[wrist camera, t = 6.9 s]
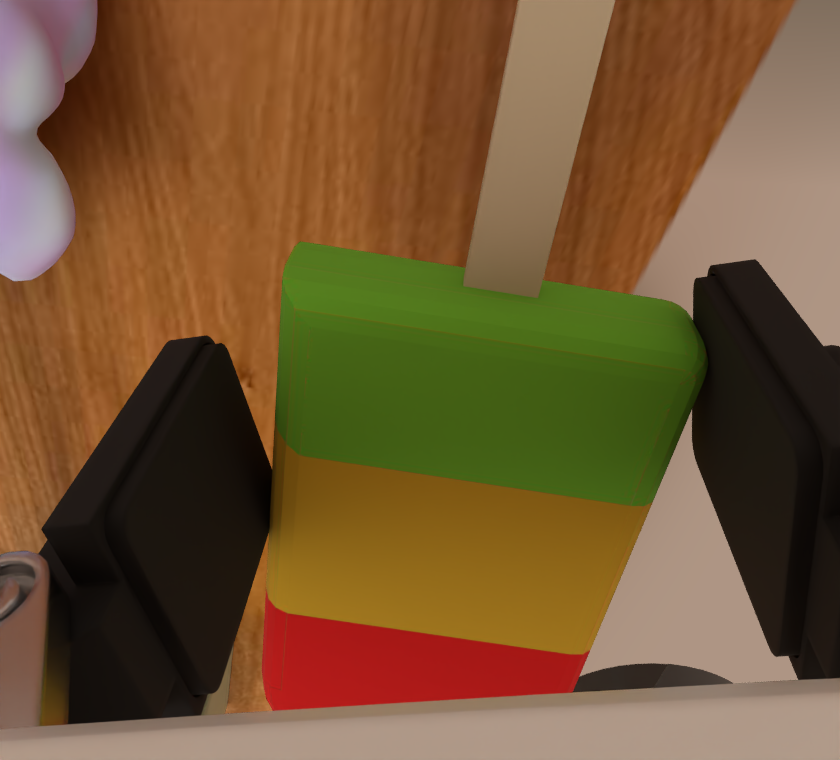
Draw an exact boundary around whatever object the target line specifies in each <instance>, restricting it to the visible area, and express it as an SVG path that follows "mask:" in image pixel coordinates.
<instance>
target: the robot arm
mask: <svg viewBox="0 0 840 760" xmlns="http://www.w3.org/2000/svg"><path fill="white" fill-rule="evenodd" d="M693 322H694V324H695V326H696V328H697V330H698V332H699V334H700V336H701V338H702V340H703V343H704V346H705V349H706V353H707V357H708V368H707V372H706V376H705V378H704V381H703V384H702V386H701V389H700V391H699V393H698V396H697V398H696V400H695V403H694V405H693V407H692V443H693V450H694V455H695V459H696V462H697V465H698V468H699V470H700V473H701V475H702V478H703V480H704V483H705V485H706V488H707V490H708V493H709V496H710V498H711V501H712V503H713V506H714V508H715V511H716V513H717V516H718V518H719V521H720V523H721V526H722V529H723V531H724V534H725V536H726V539H727V541H728V544H729V546H730V549H731V552H732V554H733V557H734V559H735V562H736V564H737V567H738V569H739V572H740V575H741V577H742V580H743V582H744V585H745V587H746V590H747V592H748V595H749V598H750V600H751V603H752V605H753V608H754V610H755V613H756V615H757V618H758V620H759V623H760V626H761V628H762V631H763V633H764V636H765V638H766V641H767V643H768V646H769V648H770V650H771V652H772V653H773V655H774V656H776V657H778V656H789V658H790V661H791V663H792V666H793V668H794V671H795V673H796V675H797V678H798V680H789V681H770V682H754V683H735V684H717V685H699V686H681V687H664V688H646V689H628V690H610V691H592V692H574V693H557V694H539V695H522V696H506V697H489V698H473V699H456V700H440V701H423V702H407V703H390V704H374V705H358V706H342V707H326V708H310V709H294V710H278V711H262V712H246V713H231V714H217V715H202V716H201V714H202V711H203V708H204V705H205V702H206V699H207V696H208V694H213V693H215V692H216V691H217V690H218V689H219V687H220V685H221V682H222V679H223V676H224V673H225V670H226V666H227V663H228V660H229V657H230V654H231V651H232V647H233V644H234V641H235V638H236V635H237V631H238V628H239V625H240V622H241V619H242V616H243V612H244V609H245V606H246V603H247V600H248V596H249V593H250V590H251V587H252V584H253V581H254V577H255V574H256V571H257V568H258V565H259V562H260V558H261V555H262V552H263V549H264V546H265V542H266V539H267V536H268V533H269V530H270V525H269V524H270V505H271V486H272V469H271V466H270V463H269V460H268V458H267V455H266V452H265V450H264V447H263V444H262V441H261V439H260V436H259V433H258V431H257V428H256V425H255V422H254V420H253V417H252V414H251V412H250V409H249V406H248V403H247V401H246V398H245V395H244V393H243V390H242V387H241V384H240V382H239V379H238V376H237V374H236V371H235V368H234V366H233V363H232V360H231V357H230V355H229V352H228V350H227V348H226V347H225V345H223V344H222V343H219V344H215V343H214V341H213V340H212V339H211V338H210V337H209V336H199V337H192V338H185V339H178V340H170V341H168V342H167V343H166V344H165V346H164V347H163V349H162V350H161V352H160V353H159V355H158V356H157V358H156V359H155V361H154V362H153V364H152V365H151V367H150V368H149V370H148V371H147V373H146V374H145V376H144V377H143V379H142V380H141V382H140V383H139V385H138V386H137V388H136V389H135V391H134V392H133V394H132V395H131V396H130V398H129V399H128V401H127V402H126V404H125V405H124V407H123V408H122V410H121V411H120V413H119V414H118V416H117V417H116V419H115V420H114V422H113V423H112V425H111V426H110V428H109V429H108V431H107V432H106V434H105V435H104V437H103V438H102V440H101V441H100V443H99V444H98V446H97V447H96V449H95V450H94V452H93V453H92V455H91V456H90V457H89V459H88V460H87V462H86V463H85V465H84V466H83V468H82V469H81V471H80V472H79V474H78V475H77V477H76V478H75V480H74V481H73V483H72V484H71V486H70V487H69V489H68V490H67V492H66V493H65V495H64V496H63V498H62V499H61V501H60V502H59V504H58V505H57V507H56V508H55V510H54V511H53V513H52V514H51V515H50V517H49V518H48V520H47V521H46V523H45V524H44V526H43V527H42V531H43V533H44V534H45V536H46V538H47V539H48V540H47V542H46V543H45V545H44V546H43V548H42V549H41V551H40V553H39V554H36V553H32V552H28V551H18V552H8V553H4V554H1V555H0V760H840V347H839V346H834V345H830V346H823V345H822V344H821V343H820V341H819V340H818V339H817V338H816V336H815V335H814V334H813V333H812V331H811V330H810V328H809V327H808V326H807V325H806V323H805V322H804V321H803V320H802V318H801V317H800V315H799V314H798V313H797V312H796V310H795V309H794V308H793V306H792V305H791V304H790V302H789V301H788V300H787V299H786V297H785V296H784V295H783V293H782V292H781V291H780V290H779V288H778V287H777V286H776V284H775V283H774V282H773V280H772V279H771V278H770V277H769V275H768V274H767V273H766V271H765V270H764V269H763V267H762V266H761V265H760V264H759V262H758V261H756V260H747V261H740V262H733V263H726V264H719V265H712V266H710V268H709V270H708V276H707V277H701V278H696V279H695V282H694V290H693Z"/></svg>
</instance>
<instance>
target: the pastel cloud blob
mask: <svg viewBox="0 0 840 760" xmlns="http://www.w3.org/2000/svg"><path fill="white" fill-rule="evenodd" d="M97 13H98V7H97V0H0V274H2V275H4V276H6V277H8V278H9V279H11V280H13V281H23V280H32V279H34V278H36V277H38V276H40V275H41V274H42V273H44V272H45V271H46V270H47V269H49V268H50V267H51V266H53V265H54V264H55V263H56V262H57V260H58V259H59V258H60V257H61V256H62V254H63V253H64V252H65V250H66V249H67V247H68V245H69V244H70V242H71V240H72V238H73V236H74V232H75V223H76V222H75V208H74V202H73V198H72V195H71V192H70V189H69V186H68V183H67V181H66V179H65V177H64V175H63V173H62V171H61V169H60V168H59V166H58V164H57V163H56V161H55V159H54V157H53V155H52V154H51V153H50V152H49V151H48V150H47V149H46V147H45V146H44V145H43V144H42V143H41V142H40V141H39V138H38V136H37V129H38V127H39V126H40V124H41V123H42V122H43V121H44V120H46V119H47V118H48V117H49V116H50V115H51V114H52V113H53V112H54V111H55V109H56V108H57V107H58V106H59V104H60V102H61V101H62V99H63V95H64V90H65V83H67V82H68V81H69V80H71V79H72V78H73V77H74V76H75V75H76V74H77V73H78V72H79V71H80V70H81V68H82V67H83V65H84V63H85V61H86V60H87V58H88V56H89V54H90V52H91V50H92V48H93V45H94V43H95V36H96V26H97Z"/></svg>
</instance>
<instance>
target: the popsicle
mask: <svg viewBox="0 0 840 760" xmlns="http://www.w3.org/2000/svg"><path fill="white" fill-rule="evenodd" d="M614 3H615V0H518V3H517V8H516V13H515V19H514V24H513V29H512V34H511V39H510V44H509V49H508V54H507V59H506V64H505V69H504V75H503V80H502V85H501V90H500V95H499V100H498V105H497V110H496V115H495V120H494V125H493V131H492V136H491V141H490V146H489V151H488V156H487V161H486V166H485V171H484V176H483V181H482V187H481V192H480V197H479V202H478V207H477V212H476V217H475V222H474V227H473V232H472V238H471V243H470V248H469V253H468V258H467V263H466V268H463V267H457V266H451V265H444V264H438V263H432V262H426V261H419V260H413V259H407V258H401V257H395V256H388V255H382V254H376V253H370V252H363V251H357V250H351V249H345V248H339V247H332V246H326V245H320V244H314V243H307V242H299V243H298V244H297V245H296V246H295V247H294V248H293V250H292V252H291V254H290V256H289V258H288V260H287V262H286V264H285V268H284V272H283V277H282V296H281V315H280V334H279V353H278V372H277V391H276V410H275V429H274V448H273V467H272V486H271V505H270V524H269V525H270V530H269V543H268V562H267V581H266V601H265V620H264V639H263V658H262V675H263V683H264V690H265V695H266V699H267V701H268V703H269V704H270V706H271V708H272V710H273V711H278V710H294V709H310V708H326V707H342V706H358V705H374V704H390V703H407V702H423V701H440V700H456V699H473V698H489V697H506V696H522V695H539V694H557V693H572V692H573V690H574V687H575V685H576V683H577V680H578V678H579V676H580V673H581V671H582V668H583V666H584V664H585V661H586V659H587V657H588V654H589V652H590V649H591V647H592V645H593V642H594V640H595V638H596V635H597V633H598V630H599V628H600V626H601V623H602V621H603V619H604V616H605V614H606V612H607V609H608V607H609V604H610V602H611V600H612V597H613V595H614V593H615V590H616V588H617V585H618V583H619V581H620V578H621V576H622V574H623V571H624V569H625V566H626V564H627V562H628V559H629V557H630V555H631V552H632V550H633V548H634V545H635V543H636V540H637V538H638V535H639V533H640V531H641V529H642V526H643V524H644V521H645V519H646V517H647V514H648V512H649V509H650V507H651V505H652V502H653V500H654V498H655V495H656V493H657V490H658V488H659V486H660V483H661V481H662V479H663V476H664V474H665V471H666V469H667V467H668V464H669V462H670V459H671V457H672V455H673V453H674V450H675V448H676V445H677V443H678V441H679V438H680V436H681V434H682V431H683V429H684V426H685V424H686V422H687V419H688V417H689V414H690V412H691V410H692V407H693V405H694V403H695V400H696V398H697V396H698V393H699V391H700V389H701V386H702V384H703V381H704V378H705V376H706V372H707V368H708V357H707V353H706V349H705V346H704V343H703V340H702V338H701V336H700V334H699V332H698V330H697V328H696V326H695V324H694V322H693V320H692V318H691V317H690V315H689V314H688V313H687V311H686V310H684V309H683V308H682V307H681V306H679V305H677V304H675V303H673V302H670V301H666V300H662V299H656V298H650V297H643V296H637V295H631V294H625V293H619V292H613V291H606V290H600V289H594V288H588V287H581V286H575V285H569V284H563V283H556V282H550V281H544V280H543V277H544V273H545V269H546V265H547V261H548V257H549V253H550V250H551V246H552V242H553V238H554V234H555V230H556V227H557V223H558V219H559V215H560V211H561V207H562V203H563V200H564V196H565V192H566V188H567V184H568V180H569V176H570V173H571V169H572V165H573V161H574V157H575V153H576V149H577V146H578V142H579V138H580V134H581V130H582V126H583V123H584V119H585V115H586V111H587V107H588V103H589V99H590V96H591V92H592V88H593V84H594V80H595V76H596V72H597V69H598V65H599V61H600V57H601V53H602V49H603V45H604V42H605V38H606V34H607V30H608V26H609V22H610V19H611V15H612V11H613V7H614Z"/></svg>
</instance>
